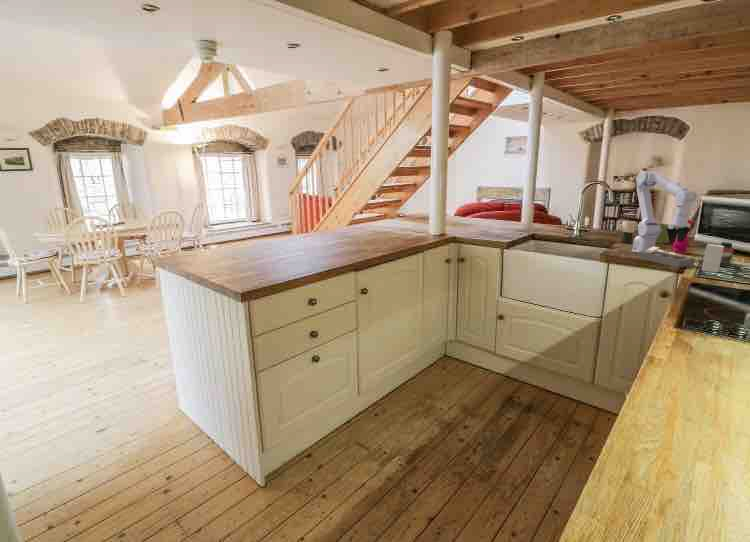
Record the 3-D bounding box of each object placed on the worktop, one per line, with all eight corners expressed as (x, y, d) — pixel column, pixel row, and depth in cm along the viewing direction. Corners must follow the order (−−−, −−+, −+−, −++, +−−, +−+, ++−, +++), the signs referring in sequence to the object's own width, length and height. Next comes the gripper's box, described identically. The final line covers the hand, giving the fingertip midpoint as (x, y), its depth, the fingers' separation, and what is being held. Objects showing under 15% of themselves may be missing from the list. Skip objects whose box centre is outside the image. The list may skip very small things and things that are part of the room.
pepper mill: (687, 254, 223) (695, 217, 218) (671, 252, 227) (679, 216, 222) (687, 252, 228) (695, 216, 223) (671, 250, 233) (679, 215, 227)
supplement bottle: (713, 263, 204) (719, 241, 201) (729, 265, 201) (735, 242, 198) (713, 265, 200) (719, 242, 197) (729, 267, 196) (735, 244, 193)
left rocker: (645, 251, 208) (645, 249, 208) (653, 248, 210) (653, 246, 210) (651, 253, 206) (651, 251, 205) (659, 249, 208) (659, 247, 207)
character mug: (633, 242, 254) (637, 221, 251) (638, 244, 248) (642, 222, 244) (614, 240, 256) (617, 220, 253) (618, 243, 249) (622, 221, 246)
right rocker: (668, 253, 198) (669, 251, 198) (675, 255, 201) (676, 253, 200) (674, 254, 195) (675, 252, 195) (681, 257, 198) (682, 255, 198)
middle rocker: (657, 251, 203) (657, 249, 202) (663, 253, 205) (664, 251, 205) (662, 252, 200) (663, 250, 200) (669, 254, 203) (670, 252, 203)
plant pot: (675, 244, 251) (679, 225, 248) (661, 245, 247) (665, 226, 244) (656, 240, 262) (659, 222, 259) (643, 241, 258) (646, 223, 254)
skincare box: (718, 271, 189) (725, 245, 186) (717, 273, 186) (724, 247, 182) (701, 268, 193) (708, 243, 190) (700, 270, 190) (706, 244, 187)
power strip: (636, 258, 211) (638, 250, 210) (651, 256, 216) (653, 248, 215) (678, 267, 194) (680, 259, 193) (693, 265, 199) (695, 257, 198)
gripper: (681, 216, 195) (675, 244, 199) (699, 215, 201) (692, 243, 204) (666, 214, 201) (660, 242, 205) (683, 213, 207) (677, 240, 211)
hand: (675, 242), depth 205 cm, fingers open, 6 cm apart
